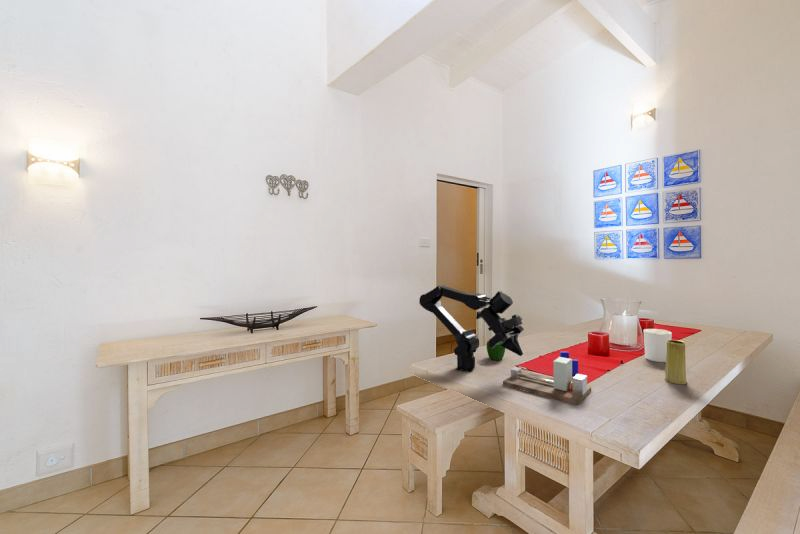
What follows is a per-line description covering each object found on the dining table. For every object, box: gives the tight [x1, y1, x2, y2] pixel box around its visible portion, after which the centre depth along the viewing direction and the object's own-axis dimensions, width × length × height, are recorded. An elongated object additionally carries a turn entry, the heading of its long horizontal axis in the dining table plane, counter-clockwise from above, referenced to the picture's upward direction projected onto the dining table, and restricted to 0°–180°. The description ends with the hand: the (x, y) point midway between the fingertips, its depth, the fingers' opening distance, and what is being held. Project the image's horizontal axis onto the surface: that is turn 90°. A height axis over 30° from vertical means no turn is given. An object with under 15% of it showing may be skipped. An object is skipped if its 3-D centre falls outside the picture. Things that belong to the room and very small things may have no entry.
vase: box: [664, 339, 687, 385], centre depth 123 cm, size 6×6×14 cm
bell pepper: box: [486, 340, 506, 361], centre depth 155 cm, size 8×8×10 cm
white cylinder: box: [642, 328, 673, 363], centre depth 148 cm, size 10×10×12 cm
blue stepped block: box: [559, 351, 579, 375], centre depth 137 cm, size 12×4×6 cm, turn 172°
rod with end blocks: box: [510, 366, 588, 396], centre depth 121 cm, size 24×5×6 cm, turn 47°
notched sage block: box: [552, 356, 573, 391], centre depth 117 cm, size 4×6×9 cm, turn 137°
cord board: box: [502, 370, 592, 406], centre depth 121 cm, size 25×14×2 cm, turn 47°
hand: (521, 355), depth 126 cm, fingers closed
